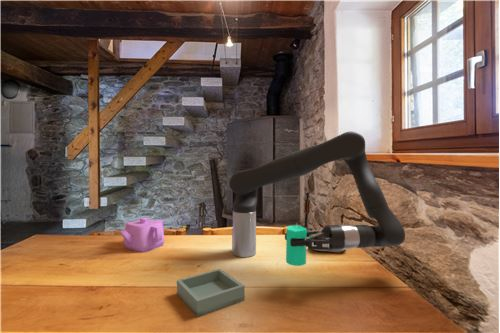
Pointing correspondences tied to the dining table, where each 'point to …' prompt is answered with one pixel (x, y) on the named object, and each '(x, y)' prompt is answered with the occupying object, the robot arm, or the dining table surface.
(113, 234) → the dining table surface
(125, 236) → the teakettle
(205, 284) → the tray
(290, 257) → the candle
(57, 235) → the dining table surface
